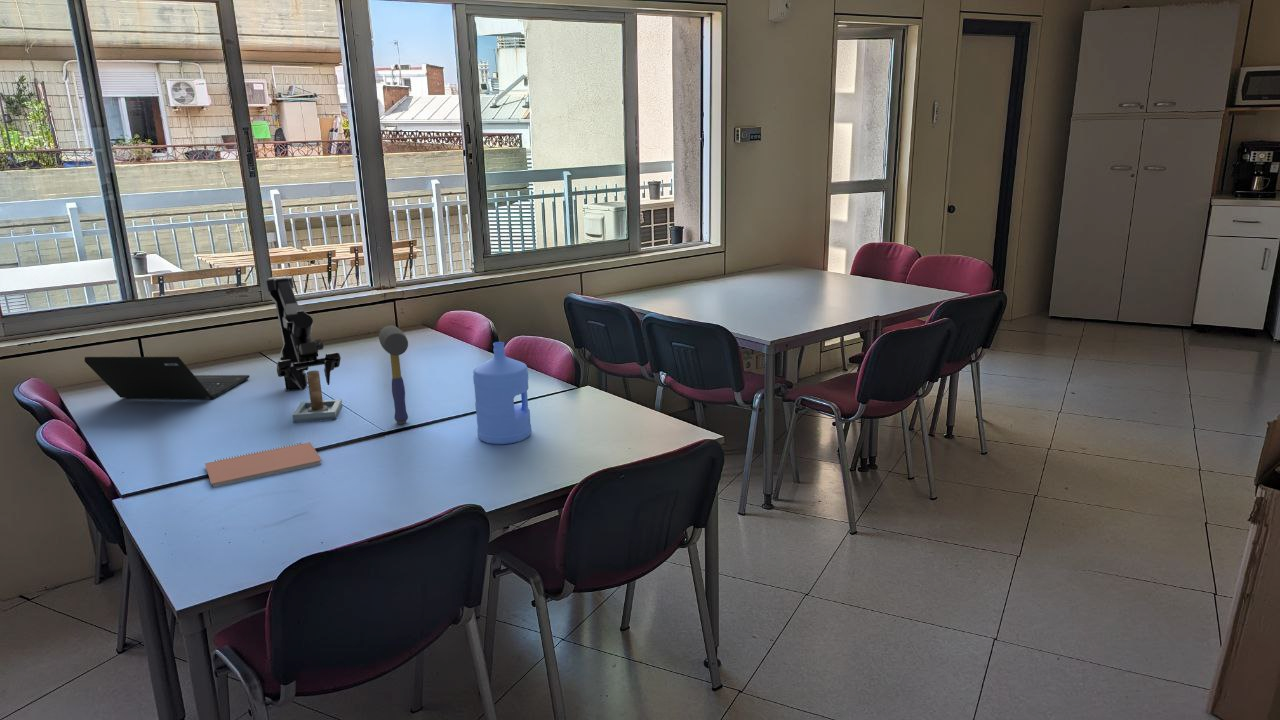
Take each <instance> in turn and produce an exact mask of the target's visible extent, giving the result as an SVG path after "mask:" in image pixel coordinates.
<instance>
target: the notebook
mask: <svg viewBox="0 0 1280 720" xmlns="http://www.w3.org/2000/svg"><path fill="white" fill-rule="evenodd" d="M321 462H323V459H322V457H321V456H320V455H319V453H318V452H317V451H316V448H314V446H313V444H312V442H304V443H301V442H299V443H296V444H295V443H294V444H291V445H290V444H289V445H286V446H285V445H284V446H280V447H279V446H278V447H275V448H270V449H268V448H267V450H266V449H265V450H259V451H256V452H255V451H253V452H250V453H249V452H248V454H247V453H245V454H240V455H238V454H237V455H234V456H231V457H230V456H228V457H225V458H220V459H217V460H216V459H214V461H211V462H205V463H204V466H205V469H206V472H207V474H208V477H209V482H210V484H211V485H212V486H213V488H217V487H222V486H228V485H232V484H236V483H242V482H246V481H250V480H255V479H259V478H264V477H269V476H273V475H278V474H282V473H288V472H292V471H296V470H301V469H306V468H309V467H310V468H311V467H315V466H319V465H321Z"/></svg>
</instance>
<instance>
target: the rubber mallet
mask: <svg viewBox="0 0 1280 720" xmlns="http://www.w3.org/2000/svg"><path fill="white" fill-rule="evenodd" d="M378 341H379V343H380V345H381V347H382V349H383V350H384V351H385V352H386V353H387V354H389V355H390V365H391V375H392V378H391V393H392V398H393V404H394V405H393V406H394V417H393V418H394V420H395V422H396V423H397V424H399V425H401V424H406V423H407V421H408V419H409V416H408V412H407V407H406V406H407V405H406V389H405V383H404V378H403V377H402V372H401V363H400V356H401V355H403V354H404V353H405V352H406V351H407V350H408V347H409V341H408V338H407V337H406V333H404V331H403V330H402V329H400V327H397V326H396V325H390V324H389V325H386V326H384V327H382V328H381V329H380V330H379V333H378Z"/></svg>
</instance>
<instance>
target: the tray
mask: <svg viewBox="0 0 1280 720" xmlns="http://www.w3.org/2000/svg"><path fill="white" fill-rule="evenodd" d="M342 401H343V400H342V398H340V399H339V398H338V399H325V400H324V399H323V405H325V406H327V407H328V411H318V412H308V408H310V407H311V401H300V403H299V404H298V405H297V407H296V408H295V410H294V411H293V413H292V421H293V423H294V424H295V423H307V422H319V421H320V420H322V421H331V420H332V419H335V420H337V418H338V415H340V411H341V410H342V408H343V402H342ZM332 421H333V420H332Z"/></svg>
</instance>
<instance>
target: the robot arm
mask: <svg viewBox="0 0 1280 720" xmlns="http://www.w3.org/2000/svg"><path fill="white" fill-rule="evenodd" d="M264 289H265V291H266V292H267V294H268V297H269V298H270V300H272V302H273V303H274V304H275V309H276V314H277V318H278V324H279V328H280V332H281V333H280V334H281V339H282V344H283V346H282V347H281V350H280V353H279V354H280V355H279V356H280V357H279V359H278V361H277V363H276V373H277V377H279V378H282V377H283V378H284V385H285V388H284V391H299V390H302V391H303V390H305V389H306V388H307V386H308V379H307V372H305V371H308V370H309V367H310V368H311V367H317V366H322V365H323V366H324V369H323V370H324V371H323V372H324V377H325V381H326V384H327V385H328V386H329V385H330V384H331V382H330V381H331V380H330V379H331V371H334V370H335V369H336V368H339V367H340V364H341V359H342V358H341V354H340V353H339V352H337V351H334V352H333V351H332V352H328V353H325V357H322V358H318V357H319V351H321V350H323V349H324V343H323V340H322V338H319V339H315V340H314V341H313V340H312V336H311V334H312V333H313V331H312V330H313V323H314V320H313V318H312V316H311V315H309V314H308V313H307V312H306V310H305V308H304V307H303V306H301V305H299V303H298V301H297V299H296V296H295V292H294V289H295V287H294V281H293V277H288V276H276V277H268V278H267V280H265V281H264Z"/></svg>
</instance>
